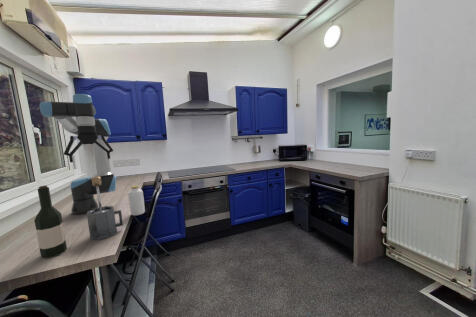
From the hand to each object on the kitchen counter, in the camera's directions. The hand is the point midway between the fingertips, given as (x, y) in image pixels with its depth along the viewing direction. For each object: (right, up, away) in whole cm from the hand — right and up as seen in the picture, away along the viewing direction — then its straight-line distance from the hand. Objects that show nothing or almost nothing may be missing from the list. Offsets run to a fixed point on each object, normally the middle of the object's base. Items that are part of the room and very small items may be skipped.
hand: (92, 167), depth 101 cm
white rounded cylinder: (+11, -32, +26) cm, 42 cm away
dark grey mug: (+8, -34, 0) cm, 35 cm away
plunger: (+6, -24, -2) cm, 25 cm away
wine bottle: (-5, -37, -16) cm, 41 cm away
